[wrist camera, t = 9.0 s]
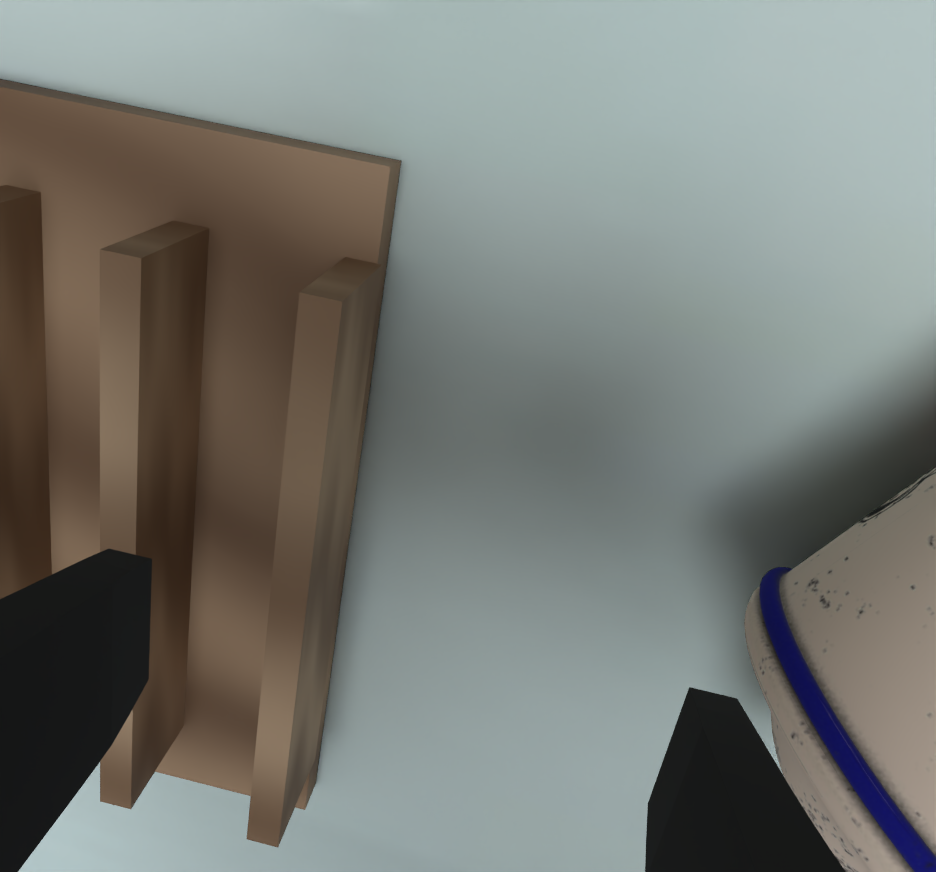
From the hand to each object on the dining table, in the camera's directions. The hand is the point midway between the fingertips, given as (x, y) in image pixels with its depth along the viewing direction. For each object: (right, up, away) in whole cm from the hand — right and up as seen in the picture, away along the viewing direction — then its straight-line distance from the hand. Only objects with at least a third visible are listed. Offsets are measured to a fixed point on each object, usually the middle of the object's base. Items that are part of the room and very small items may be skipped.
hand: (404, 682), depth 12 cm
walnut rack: (-8, +2, +11) cm, 14 cm away
